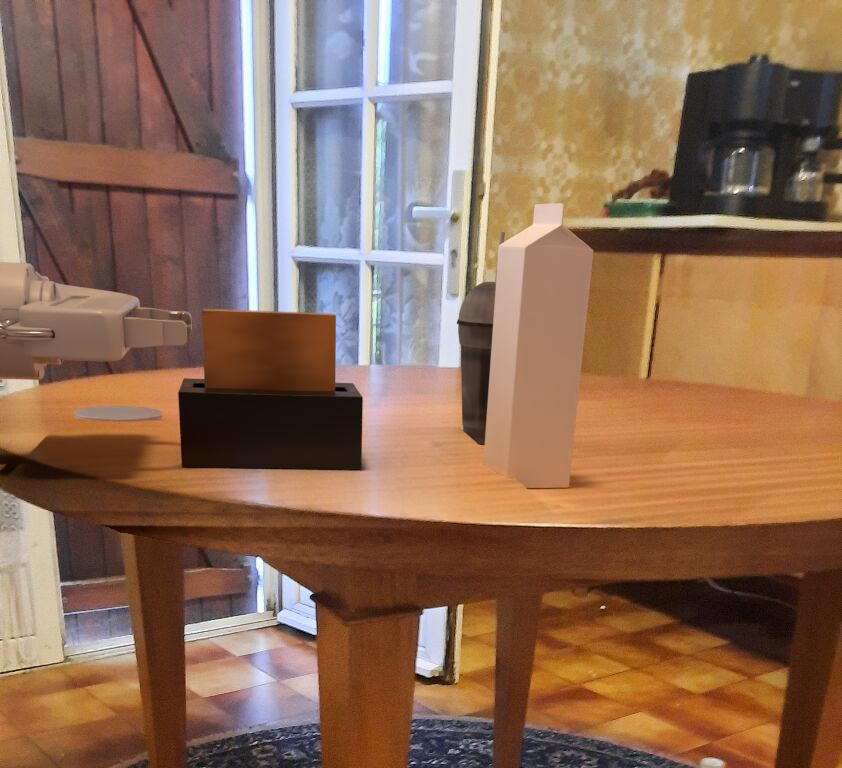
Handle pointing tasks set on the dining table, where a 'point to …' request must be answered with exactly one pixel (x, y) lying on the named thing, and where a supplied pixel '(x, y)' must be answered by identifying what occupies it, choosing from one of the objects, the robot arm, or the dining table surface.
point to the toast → (269, 350)
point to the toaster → (270, 428)
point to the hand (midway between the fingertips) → (189, 328)
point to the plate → (118, 413)
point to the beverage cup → (476, 355)
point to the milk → (537, 351)
